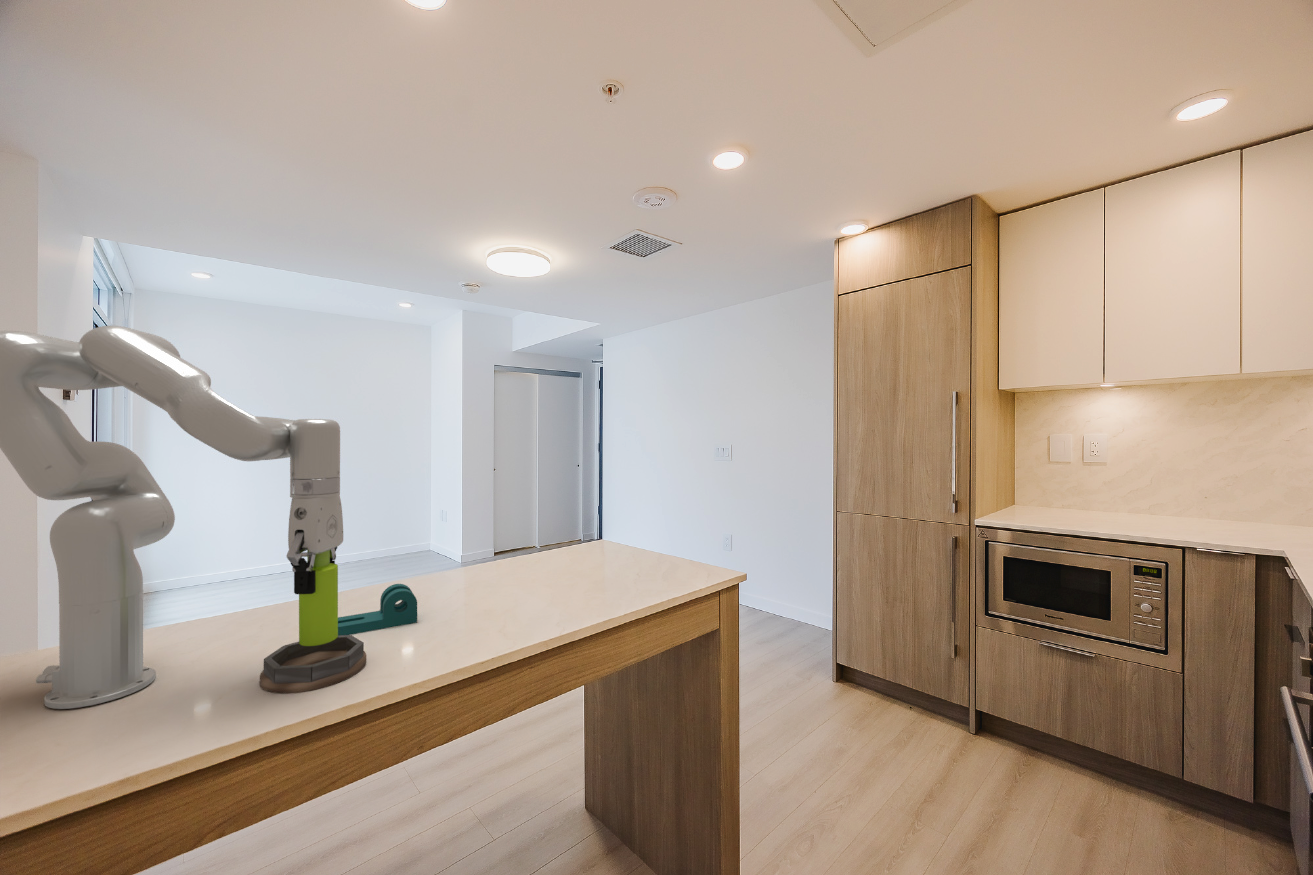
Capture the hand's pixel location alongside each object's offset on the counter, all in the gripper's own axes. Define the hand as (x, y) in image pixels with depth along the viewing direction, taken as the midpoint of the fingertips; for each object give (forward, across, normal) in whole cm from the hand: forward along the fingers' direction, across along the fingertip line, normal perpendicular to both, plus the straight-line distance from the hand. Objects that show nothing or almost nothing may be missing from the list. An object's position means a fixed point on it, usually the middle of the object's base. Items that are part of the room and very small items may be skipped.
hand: (315, 586), depth 94 cm
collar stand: (+15, 0, 0) cm, 15 cm away
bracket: (+16, +22, 0) cm, 27 cm away
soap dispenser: (+10, 0, 0) cm, 10 cm away
